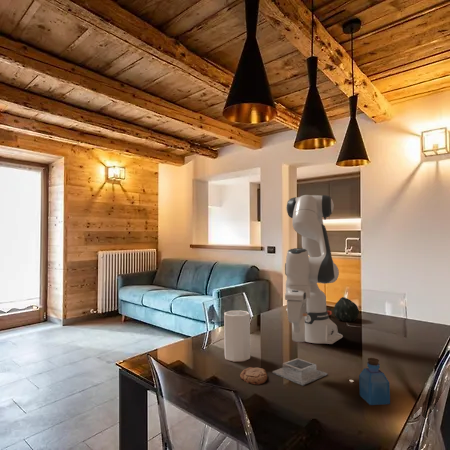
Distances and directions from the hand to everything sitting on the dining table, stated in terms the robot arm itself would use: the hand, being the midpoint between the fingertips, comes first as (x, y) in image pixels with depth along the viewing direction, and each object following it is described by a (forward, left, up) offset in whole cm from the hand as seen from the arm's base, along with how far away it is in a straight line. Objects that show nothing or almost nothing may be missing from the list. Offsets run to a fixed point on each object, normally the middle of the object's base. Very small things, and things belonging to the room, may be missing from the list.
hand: (298, 330), depth 121 cm
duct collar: (0, 0, -16) cm, 16 cm away
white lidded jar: (0, 0, -4) cm, 4 cm away
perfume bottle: (-2, +27, -16) cm, 32 cm away
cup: (+6, -28, -16) cm, 33 cm away
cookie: (+15, -8, -16) cm, 24 cm away
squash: (-88, -34, -16) cm, 96 cm away
